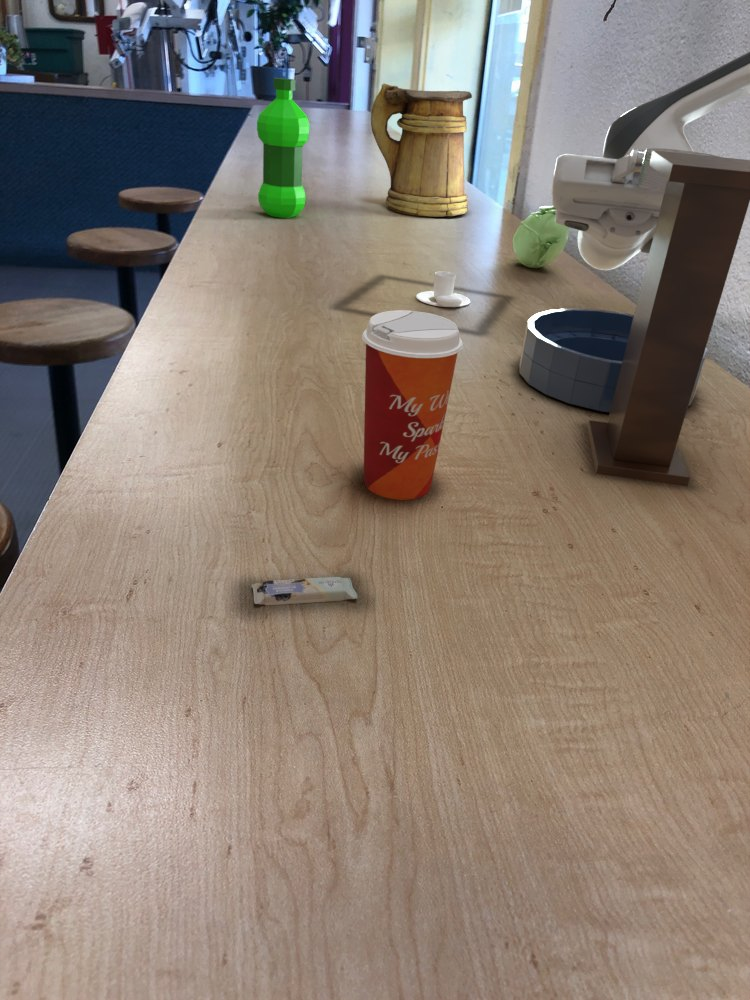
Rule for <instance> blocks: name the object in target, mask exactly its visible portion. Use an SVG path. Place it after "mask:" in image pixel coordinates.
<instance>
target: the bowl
mask: <svg viewBox="0 0 750 1000" xmlns="http://www.w3.org/2000/svg"><path fill="white" fill-rule="evenodd" d="M633 317H634V314H631V313H625V312H621V311H612V310H604V309H595V308H559V309H548V310H545V311H541V312H537V313H534V315H532V316H531V317H530V318H528V319H527V321H526V326H525V331H524V337H523V343H522V348H521V354H520V359H519V366H518V367H519V368H518V369H519V375H520V376H521V377H522V378H523V380H524V381H525V382H526V383H527V384H528V385H529V386H531V387H533V388H535V389H536V390H538V391H539V392H541V393H542V394H544V395H546V396H549V397H551V398H553V399H556V400H559V401H561V402H564V403H567V404H569V405H573V406H577V407H581V408H585V409H590V410H594V411H598V412H603V413H610V410H611V406H612V402H613V398H614V394H615V390H616V386H617V382H618V378H619V374H620V370H621V366H622V362H623V358H624V354H625V349H626V345H627V341H628V337H629V333H630V329H631V325H632V321H633ZM708 353H709V349H708V348H707V347H706V348H705V352H704V355H703V358H702V362H701V365H700V368H699V372H698V375H697V378H696V382H695V385H694V388H693V392H692V395H691V398H690V402H689V405H688V407H689V406H691V405H692V403H693V400H694V399H695V395H696V393H697V389H698V386H699V383H700V380H701V376H702V373H703V369H704V367H705V363H706V359H707V356H708Z"/></svg>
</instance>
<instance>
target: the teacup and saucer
mask: <svg viewBox="0 0 750 1000" xmlns="http://www.w3.org/2000/svg"><path fill="white" fill-rule="evenodd" d="M433 275H434V277H433V290H426V291H421V292H418V293H417V294H415V298H416V300H418V302H419V301H420V302H421V303H424V304H427V305H430V306H435V307H441V308H462V307H466V306H468V305H469V304H471V300H470V299H469V298H468V297H466V296H465V295H462V294H459V293H456V292H454V290H455V289H454V288H455V285H456V278H457V274H456V273H455V272H451V271H444V270H443V271H442V270H439V271H435V272H434V274H433ZM431 298H434V300H435V301H436V302H434V301H431V300H430V299H431Z"/></svg>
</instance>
